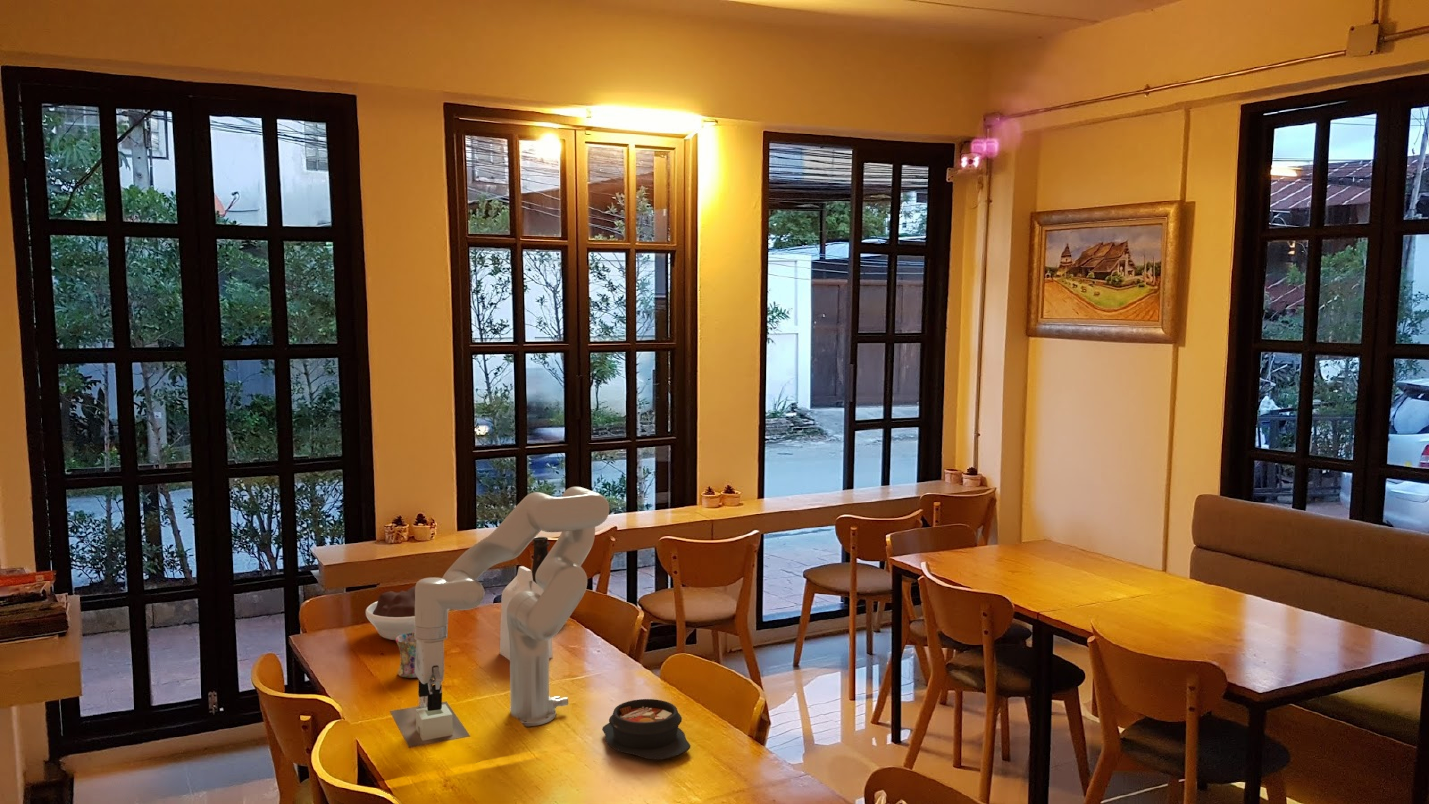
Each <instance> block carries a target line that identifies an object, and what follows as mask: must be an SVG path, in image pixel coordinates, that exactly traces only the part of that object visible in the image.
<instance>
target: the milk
mask: <svg viewBox="0 0 1429 804" xmlns="http://www.w3.org/2000/svg"><path fill="white" fill-rule="evenodd" d="M522 591H532V592H535V593H537V594H539V595H541V594H542V593H543V591H544V590H542V589H541V588H540V587H539V586H538V584H536V583H535V582H534V581H533V577H532V569H529V568H527V567H525V566H523V565H521V566H518V569H517V574H516V576H515V577H514V578H513V579H512V580H511V581H510V582H509V583H508V584H507V585H506V587H504V588H503V590H502V592H501V601H500V603H501V606H500V629H499V631H500V634H499V635H500V638H499V654H500V655H501V656H503V657H505V659H506V660H508V661H510V640H509V631H508V625H507V615H506V613H507V607H508V604H509V602H510V600H511V599H512V597H513V596H514V595H516V594H517V593H519V592H522ZM552 638H553V637H552ZM552 638H551V639H548V642H549V659H552V658H554V651H553V639H552Z"/></svg>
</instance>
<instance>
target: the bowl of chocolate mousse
mask: <svg viewBox="0 0 1429 804" xmlns="http://www.w3.org/2000/svg"><path fill="white" fill-rule="evenodd" d="M415 586H416V585H415ZM415 586H412V587H410V588H408V589H407V590H406V591H405V590H403V589H402V590H401V591H398V592H395V591H392V590H389V591H386V592H383V593H381V594H379V596H378V600H377V601H375V602H373V603H371V604H370V605H368V606H367V607H366V609H365V617H366V618H367V620H368V621H369V622H370V624H371V625H372V626H374V628H375V630H376V631H377V633H378V634H379V636H380V637H382V638H384V639H386V640H391V641H396V638H397V637H398V636H400V635H402V634H406V633H413V632H415ZM449 611H450V609H448V612H449Z"/></svg>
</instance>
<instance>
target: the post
mask: <svg viewBox="0 0 1429 804" xmlns="http://www.w3.org/2000/svg"><path fill="white" fill-rule="evenodd" d="M427 698H428V696H423V697H419V696H418V706H419V709H421V708H426V707H427Z"/></svg>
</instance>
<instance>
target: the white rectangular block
mask: <svg viewBox="0 0 1429 804" xmlns="http://www.w3.org/2000/svg"><path fill="white" fill-rule="evenodd" d="M416 730H417V732H418V733H420V737H421V739H422V740H429V739H434V738H439V737H445V736H450V735H453V716H452V713H451V711H450V710H449V709H448V707H447V706H446V704H444V705H442V709H440V710H433V711H428V710H427V707H426V708H421V709H416Z"/></svg>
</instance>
